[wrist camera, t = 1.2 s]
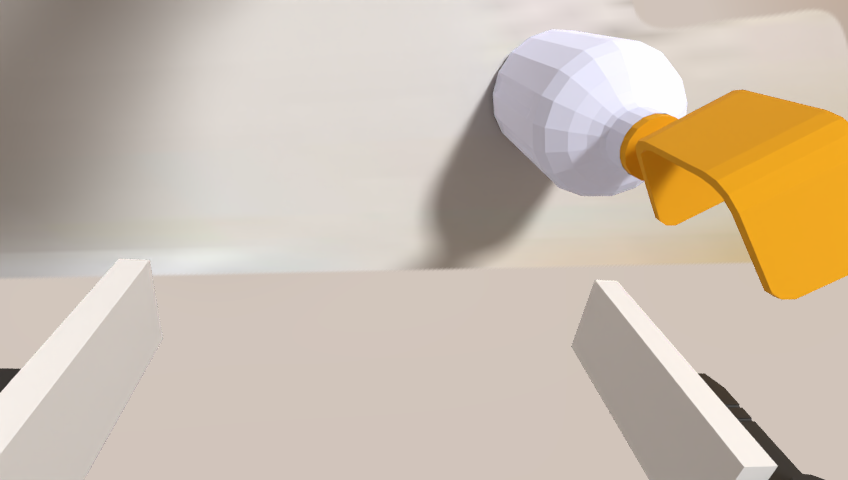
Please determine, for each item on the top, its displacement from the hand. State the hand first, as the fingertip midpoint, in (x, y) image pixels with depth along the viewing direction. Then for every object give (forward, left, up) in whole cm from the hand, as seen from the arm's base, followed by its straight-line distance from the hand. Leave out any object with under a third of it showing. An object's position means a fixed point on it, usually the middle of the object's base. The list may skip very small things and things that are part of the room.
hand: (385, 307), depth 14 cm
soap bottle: (+2, +14, -24) cm, 28 cm away
